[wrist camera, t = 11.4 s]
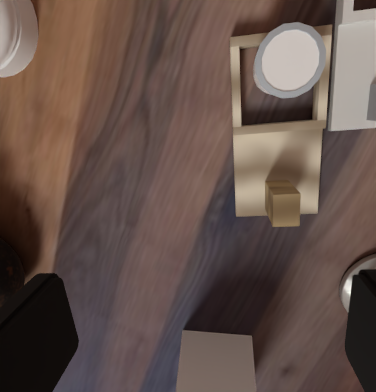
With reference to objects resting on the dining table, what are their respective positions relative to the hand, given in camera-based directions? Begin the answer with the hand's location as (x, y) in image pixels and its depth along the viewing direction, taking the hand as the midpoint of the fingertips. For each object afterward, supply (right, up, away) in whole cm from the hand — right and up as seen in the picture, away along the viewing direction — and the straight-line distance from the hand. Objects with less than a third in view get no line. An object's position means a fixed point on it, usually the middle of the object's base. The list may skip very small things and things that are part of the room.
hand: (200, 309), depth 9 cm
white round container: (+11, +19, +25) cm, 33 cm away
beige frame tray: (+11, +12, +27) cm, 31 cm away
